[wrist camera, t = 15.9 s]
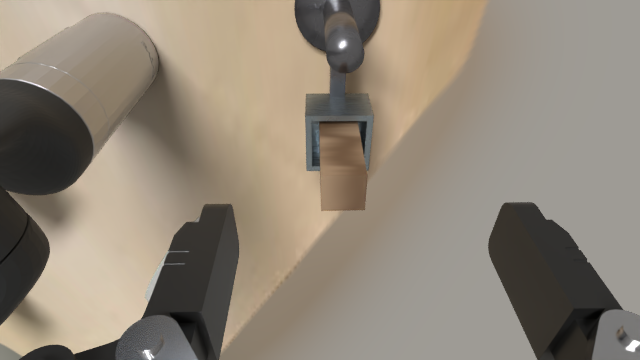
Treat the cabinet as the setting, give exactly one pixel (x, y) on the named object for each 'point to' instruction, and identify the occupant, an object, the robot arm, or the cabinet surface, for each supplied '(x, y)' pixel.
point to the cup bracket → (337, 66)
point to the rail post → (341, 166)
